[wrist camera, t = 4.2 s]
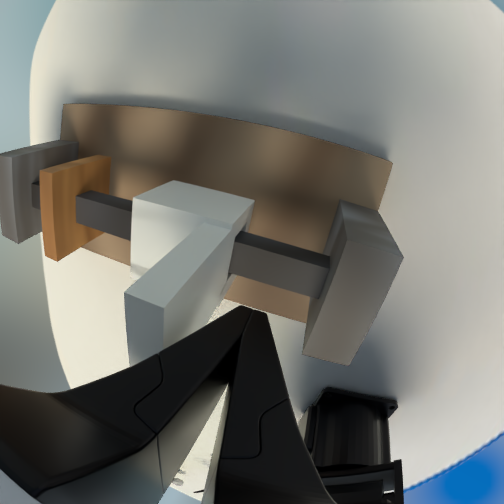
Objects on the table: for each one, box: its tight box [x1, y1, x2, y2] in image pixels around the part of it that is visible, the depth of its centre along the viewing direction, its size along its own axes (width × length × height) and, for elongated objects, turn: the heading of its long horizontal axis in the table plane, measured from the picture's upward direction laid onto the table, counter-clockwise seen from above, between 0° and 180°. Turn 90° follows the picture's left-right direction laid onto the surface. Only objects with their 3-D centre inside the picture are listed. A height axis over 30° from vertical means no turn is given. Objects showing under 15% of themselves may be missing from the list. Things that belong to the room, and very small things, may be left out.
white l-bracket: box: [124, 180, 255, 367], centre depth 11 cm, size 4×4×8 cm
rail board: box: [0, 104, 403, 366], centre depth 14 cm, size 20×10×7 cm, turn 79°
